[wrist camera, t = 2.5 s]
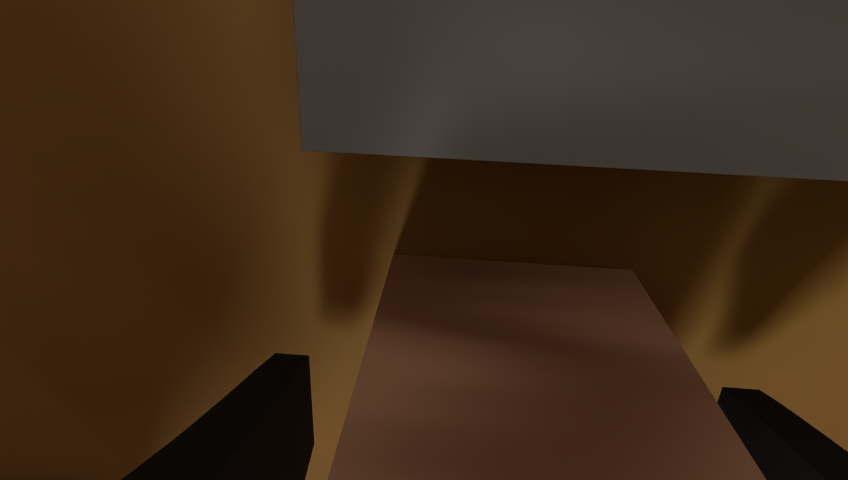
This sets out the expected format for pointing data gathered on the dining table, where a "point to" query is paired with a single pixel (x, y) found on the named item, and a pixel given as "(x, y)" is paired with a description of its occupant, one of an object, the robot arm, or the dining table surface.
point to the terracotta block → (529, 381)
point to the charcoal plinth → (581, 82)
